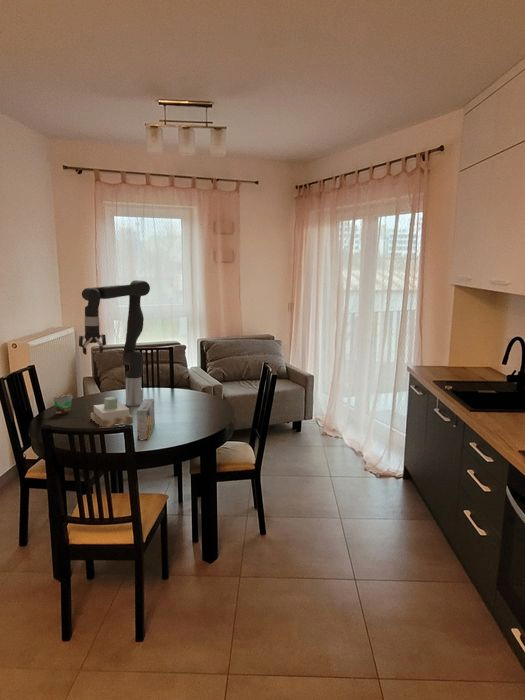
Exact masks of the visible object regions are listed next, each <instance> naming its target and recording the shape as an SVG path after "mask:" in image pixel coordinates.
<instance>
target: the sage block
mask: <svg viewBox="0 0 525 700" xmlns="http://www.w3.org/2000/svg"><path fill="white" fill-rule="evenodd" d="M117 402H118V398H117V397H114V396H109V397H104V401H103V404H104V407H105V408H107V409H113V408H117Z"/></svg>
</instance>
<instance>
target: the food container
mask: <svg viewBox="0 0 525 700" xmlns="http://www.w3.org/2000/svg"><path fill="white" fill-rule="evenodd" d="M72 399H73V395H72V393H71V392H66V394H64V395H60V396H59V397H58V396H57V397H54V398H53V402H54V407H55V408H54V409H55V415H57V414H61V415H66V414H65V413H67V414H70V413H71V412H70V411H72V410H71V409H72ZM69 412H70V413H69Z"/></svg>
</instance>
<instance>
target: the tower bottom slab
mask: <svg viewBox="0 0 525 700" xmlns="http://www.w3.org/2000/svg"><path fill="white" fill-rule="evenodd" d="M133 417H134V416H133V415H131V414H130V416H129V417H122V418H116V419H109V420H102V419H101V418H100V417H98V416H97V415H96V414H95V413H94V411H93V412H90V420H91V419H92V420H91V421H93V422H94V421H95V422H94V423H96V424H97V425H98V424H99V425H98V426H99V427H101V426H102V427H106V428H110V426H109V425H115V424H120V423H128V424H132V422H133V421H134V418H133ZM102 427H101V428H102Z"/></svg>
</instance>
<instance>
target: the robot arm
mask: <svg viewBox="0 0 525 700" xmlns="http://www.w3.org/2000/svg"><path fill="white" fill-rule="evenodd" d="M150 291H151V286H150V284H149V282H147V281H146V280H141V279H140V280H139V279H135V280H132V281H130V284H121V285H120V284H114V285H107V286H106V285H105V286H99V287H94V286H93V287H86V288H84V289H83V290H82V291H81V297H82V299H83V300H85V301H87V305H86V306H85V307H84V335H79V336H78V347H81V348H82V354H83V355H87V346H88V345H89V344H93V343H94V344H97V345H98V353H100V354H102V353H103V352H104V351H103V349H104V346H106V345H107V340H106V339H107V338H106V334H104V333H102V334H100V318H99V307H100V303H101V300H107V299H114V298H115V299H116V298H120V297H121V298H122V297H127V296H129V297H128V298H129V301H128V302H129V303H128V311H127V312H128V315H127V323H126V325H127V326H126V336H125V343H124V348H123V353H122V362H123V363H124V364H125V365H127V366H129V370H127V371H126V372H125V405H126V407H127V406H128V407H137V406H138V407H140V405H141V404H142V402H143V401H144V389H143V387H142V373H143V371H144V367H143V366H144V357H143V356H144V355H143V354H142V352H141V351H138V350H136V346H137V342H138V339H139V338H140V336H141V334H142V332H143V329H144V318H145V317H144V313H143V311H142V307H141V297H144V296H147V295H148V294H149V293H150ZM100 338H101V341H100ZM84 340H85V341H84Z"/></svg>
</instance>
